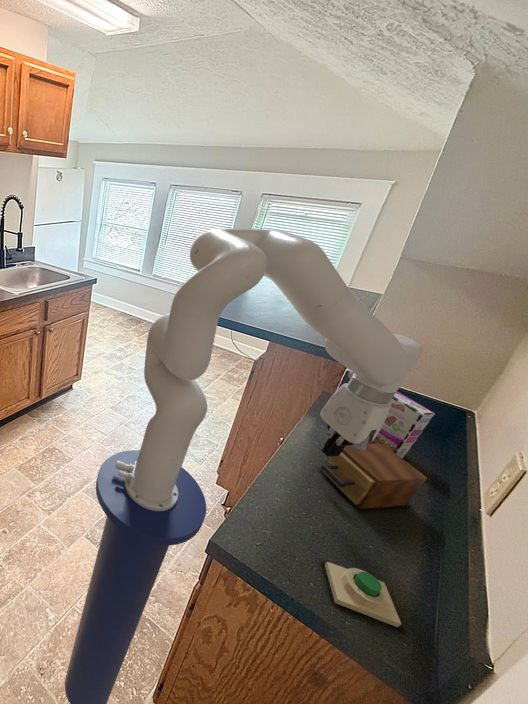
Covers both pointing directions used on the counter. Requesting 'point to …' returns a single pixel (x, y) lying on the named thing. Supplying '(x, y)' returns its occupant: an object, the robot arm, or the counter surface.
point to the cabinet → (385, 476)
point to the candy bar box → (403, 424)
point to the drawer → (348, 477)
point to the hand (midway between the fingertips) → (329, 453)
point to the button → (368, 583)
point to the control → (360, 595)
